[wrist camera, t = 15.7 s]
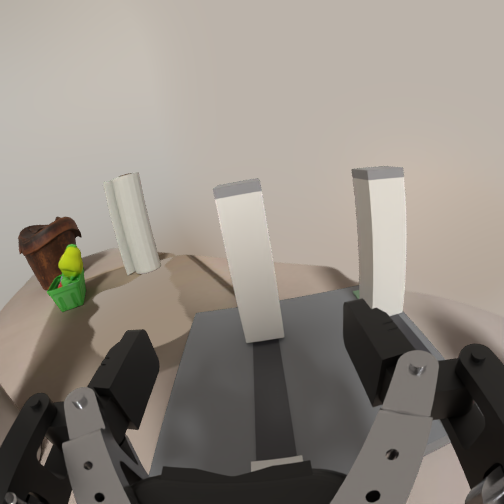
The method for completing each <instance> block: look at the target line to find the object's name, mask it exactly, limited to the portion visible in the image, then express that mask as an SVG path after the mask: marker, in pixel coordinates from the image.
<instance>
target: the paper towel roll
mask: <svg viewBox="0 0 504 504" xmlns="http://www.w3.org/2000/svg"><path fill="white" fill-rule="evenodd" d="M103 185H104V190H105V195H106V199H107V204H108V208H109V212H110V216H111V220H112V224H113V228H114V232H115V235H116V239H117V242H118V246H119V249H120V253H121V256H122V259H123V263H124V266H125V269H126V272H127V275H129V274H131V273H133V272H135V271H136V273H138V274H145V273H149V272H152V271H154V270H156V269H158V268H159V267H160V266H161V263H160V260H159V256H158V252H157V249H156V245H155V242H154V238H153V234H152V230H151V226H150V222H149V218H148V214H147V209H146V205H145V201H144V196H143V192H142V187H141V182H140V177H139V173H130V174H125V175H122V176H119V177H118V178H115V179H113V180H112V181H108V182H104V183H103Z"/></svg>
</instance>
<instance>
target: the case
mask: <svg viewBox="0 0 504 504" xmlns="http://www.w3.org/2000/svg"><path fill="white" fill-rule="evenodd" d="M77 236H79V237H81V233H80V231H79V229H78V227H77V225H76V223H75V221H74V220H73V219H71V218H69V217H63V218H60V217H56V220H55V221H54V222H52V223H51V224H49V225H33V226H29V227H26V228H24V229H23V230H22V231H21V232H20V235H19V237H18V239H19V252H20V254H21V253H23V255H24V256H25V257H26V259H27V261H28V263H29V265H30V267H31V268H32V270H33V272H34V274H35V276H36V277H37V279H38V281H39V282H40V284H41V286H42V287H43V289H44V290H48V289H49V287H50V286H51V284H52V282H53V281H54V279H55V278H56V277H57V276H59V275H61V274H62V271H61V270H60V268H59V266H58V265H59V261H60V259H61V257H62V255H63V254H64V252H65V251H66V248H67V246H68V245H70V244H74V245H76V241H75V238H76V237H77Z"/></svg>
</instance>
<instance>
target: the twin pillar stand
mask: <svg viewBox="0 0 504 504" xmlns="http://www.w3.org/2000/svg"><path fill="white" fill-rule="evenodd" d="M352 176H353V186H354V195H355V205H356V216H357V231H358V247H359V285H357V286H352V287H348V288H343V289H338V290H333V291H328V292H323V293H318V294H313V295H307V296H302V297H297V298H291V299H285V300H280V301H279V303H280V309H281V316H282V323H283V330H284V337H283V338H277V339H271V340H264V341H258V342H251V343H246V339H245V335H244V331H243V327H242V322H241V318H240V314H239V310H238V307H236V308H229V309H222V310H215V311H208V312H200V313H196V314H195V317H194V320H193V323H192V326H191V330H190V333H189V336H188V339H187V342H186V345H185V349H184V352H183V355H182V358H181V362H180V365H179V368H178V371H177V375H176V378H175V382H174V385H173V388H172V392H171V395H170V399H169V402H168V406H167V409H166V413H165V416H164V420H163V423H162V427H161V431H160V434H159V438H158V442H157V446H156V449H155V453H154V457H153V461H152V465H151V469H150V473H149V476H150V477H152V476H157V475H161V473H162V468H163V466H168V467H180V468H196V469H200V470H204V471H208V472H213V473H217V474H222V475H227V476H238V475H242V474H245V473H249V472H253V471H256V470H260V469H263V468H266V467H270V466H274V465H282V464H289V463H296V462H302V461H308V460H310V461H311V466H312V468H317V469H328V470H333V471H337V472H341V473H344V474H346V475H348V473H349V471H350V470H351V468H352V466H353V464H354V462H355V460H356V458H357V456H358V455H359V453H360V451H361V449H362V447H363V445H364V442H365V440H366V438H367V436H368V434H369V432H370V430H371V427H372V425H373V423H374V420H375V418H376V416H377V413H378V411H379V409H380V408H381V407H382V405H379V406H376V407H372V405H371V403H370V400H369V398H368V396H367V394H366V391H365V389H364V387H363V385H362V383H361V380H360V378H359V376H358V374H357V372H356V370H355V367H354V365H353V363H352V361H351V359H350V357H349V355H348V352H347V350H346V348H345V345H344V340H343V305H344V302H347V301H352V300H356V299H361V298H363V299H364V300H365V301H366V303H367V304H368V305H369V307H370V308H371V309H373V308H378V309H380V310H382V311H384V312H386V313H387V314H388V315H389V316H390V318H391V319H392V320H393V322H394V323H395V324H396V325H397V326H398V329H400V330H401V331H402V333H403V334H404V335H405V336H406V338H407V339H408V340H409V342H410V343H411V344H412V345H413V347H414V348H415V349H416V350H421V351H426V352H428V353H430V354H432V355H433V356H434V357H435V358H436V359H437V361H440V360H445V359H444V357H443V356H442V355H441V354H440V353H439V351H438V350H437V349H436V348H435V347H434V346H433V344H432V343H431V342H430V341H429V340H428V339H427V337H426V336H425V335H424V334H423V333H422V332H421V331H420V330H419V328H418V327H417V326H416V325H415V324H414V323H413V322H412V321H411V320H410V318H409V317H408V316H407V315H406V314H405V313H404V312H403V302H404V290H405V274H406V247H407V243H406V242H407V226H406V199H405V184H404V173H403V168H402V167H389V166H380V167H368V168H357V169H352ZM476 405H477V404H476ZM478 408H479V407H478ZM479 410H480V409H479ZM481 413H482V412H481ZM482 415H483V414H482ZM450 442H451V441H450V439H449V437H448V435H447V433H446V431H445V429H444V427H443V425H442V423H441V421H440V419H438V420H433V421H432V426H431V431H430V434H429V438H428V442H427V446H426V449H425V452H424V456H425V455H427V454H429V453H431V452H433V451H435V450H437V449H439V448H441V447H443V446H445V445H447V444H449V443H450Z"/></svg>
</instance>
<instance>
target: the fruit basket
mask: <svg viewBox="0 0 504 504" xmlns="http://www.w3.org/2000/svg"><path fill="white" fill-rule="evenodd" d="M58 266H59V268H60V270H61V271H62V274H61V275H59V276H57V277H56V278H55V279H54V281H53V282H52V284H51V286H50V287H49V289H48V291H47V293H48V294H49V296H51V298H52V299H53V300H54V302H55V303H56V304H57V306H58V307H59V308H60V310H61V311H62V312H64V311H66V310H70V309H72V308H75V307H78V306H81V305H83V303H84V298H85V293H86V287H85V279H84V268H83V262H82V259H81V252H80V250H79V249H78V248H77V246H76V245H74V244H70V245H68V246H67V248H66V251H65V252H64V254H63V255H62V257H61V259H60V261H59V265H58Z"/></svg>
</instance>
